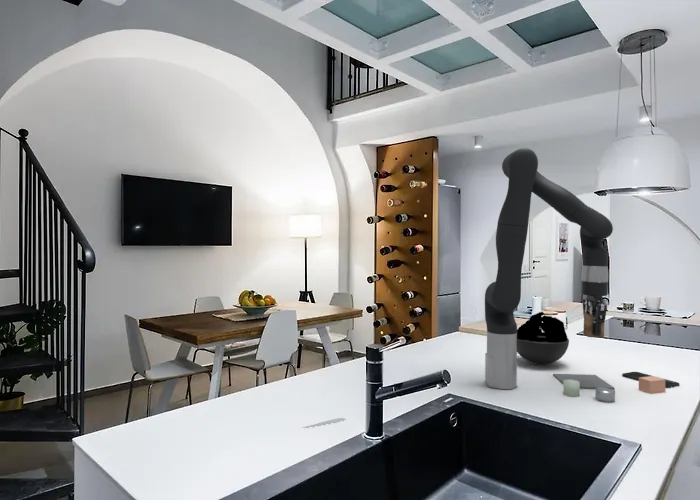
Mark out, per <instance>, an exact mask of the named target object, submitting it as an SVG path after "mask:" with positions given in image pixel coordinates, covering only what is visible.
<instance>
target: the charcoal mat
mask: <svg viewBox="0 0 700 500" xmlns="http://www.w3.org/2000/svg"><path fill="white" fill-rule="evenodd" d="M552 376H553V377H554V378H555V379H556V380H557V381H559V382H560V383H561V384H562V385H563V380H566V379H571V380H576V381H579V382H580V389H579V390H581V389H582V390H595V389H596V388H599V387H602V388H609V389H612V390H614V391H615V387H614V386H613V385H612V384H610V383H608V382H607V381H605V380H604V379H602V378H601V377H599V376H597V375H596V374H582V373H581V374H580V373H579V374H578V373H577V374H576V373H552Z"/></svg>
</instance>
